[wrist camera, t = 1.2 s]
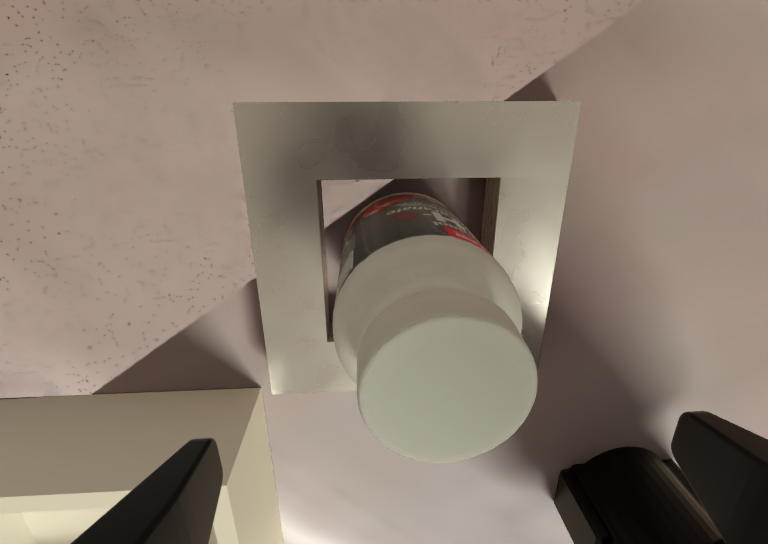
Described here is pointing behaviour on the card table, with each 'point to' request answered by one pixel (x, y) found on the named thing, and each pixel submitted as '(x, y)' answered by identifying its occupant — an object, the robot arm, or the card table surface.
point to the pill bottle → (430, 332)
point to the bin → (129, 460)
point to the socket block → (393, 161)
